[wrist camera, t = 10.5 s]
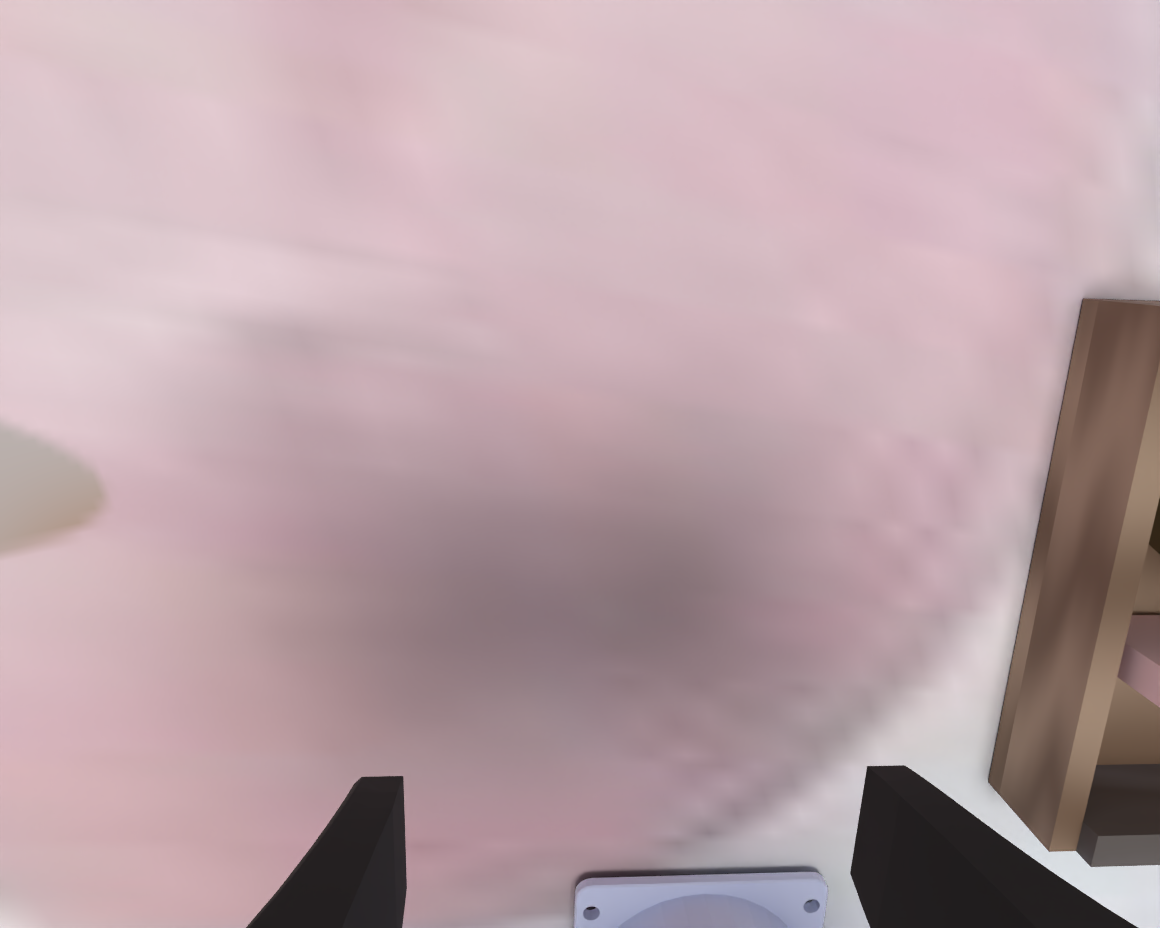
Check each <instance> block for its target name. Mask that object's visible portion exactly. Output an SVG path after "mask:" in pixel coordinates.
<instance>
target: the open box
mask: <svg viewBox="0 0 1160 928" xmlns="http://www.w3.org/2000/svg"><path fill="white" fill-rule="evenodd" d="M1159 498H1160V301H1145V300H1113V299H1083V303H1082V308H1081V313H1080V318H1079V323H1078V328H1077V333H1076V338H1075V343H1074V348H1073V354H1072V359H1071V364H1070V369H1069V374H1068V379H1067V384H1066V389H1065V394H1064V399H1063V404H1062V409H1061V415H1060V420H1059V425H1058V430H1057V435H1056V440H1055V445H1054V450H1053V455H1052V460H1051V465H1050V471H1049V476H1048V481H1047V486H1046V491H1045V496H1044V501H1043V506H1042V511H1041V516H1040V521H1039V526H1038V532H1037V537H1036V542H1035V547H1034V552H1033V557H1032V562H1031V567H1030V572H1029V577H1028V582H1027V587H1026V593H1025V598H1024V603H1023V608H1022V613H1021V618H1020V623H1019V628H1018V633H1017V638H1016V643H1015V648H1014V654H1013V659H1012V664H1011V669H1010V674H1009V679H1008V684H1007V689H1006V694H1005V699H1004V704H1003V710H1002V715H1001V720H1000V725H999V730H998V735H997V740H996V745H995V750H994V755H993V760H992V765H991V771H990V776H989V781H988V782H989V783H990V785H991V786H992V787H993V788H994V789H995V790H996V791H997V793H998V794H999V795H1000V796H1001V797H1002V798H1003V800H1004V801H1005V802H1006V803H1007V804H1008V805H1009V806H1010V808H1011V809H1012V810H1013V811H1014V812H1015V813H1016V814H1017V816H1018V817H1019V818H1020V819H1021V820H1022V821H1023V822H1024V824H1025V825H1026V826H1027V827H1028V828H1029V829H1030V830H1031V832H1032V833H1033V834H1034V835H1035V836H1036V837H1037V838H1038V840H1039V841H1040V842H1041V843H1042V844H1043V845H1044V846H1045V848H1046V849H1047V850H1048V851H1049V852H1051V851H1077V852H1078V854H1079V855H1080V856H1081V857H1082V858H1083V859H1084V860H1085V861H1086V862H1087V863H1088V864H1089V865H1090V867H1103V866H1137V865H1160V707H1158V706H1157V705H1155V704H1154V703H1153V702H1151V701H1150V700H1149V699H1147V698H1146V697H1144V696H1143V695H1142V694H1140V693H1139V692H1137V691H1136V690H1135V689H1133V688H1132V687H1131V686H1129V685H1128V684H1126V683H1125V682H1124V681H1122V680H1121V679H1119V678H1118V677H1117V675H1118V671H1119V667H1120V663H1121V659H1122V654H1123V650H1124V646H1125V642H1126V637H1127V633H1128V629H1129V625H1130V620H1131V616H1132V615H1160V554H1159V553H1158V552H1157V551H1156V550H1154V549H1153V548H1152V547H1151V546H1150V545H1149V540H1150V536H1151V532H1152V528H1153V523H1154V519H1155V515H1156V511H1157V506H1158V502H1159Z"/></svg>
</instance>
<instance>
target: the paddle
mask: <svg viewBox="0 0 1160 928" xmlns="http://www.w3.org/2000/svg"><path fill="white" fill-rule="evenodd" d="M1117 677H1118V678H1119V679H1121V680H1122V681H1124V682H1125V683H1126V684H1128V685H1129V686H1131V687H1132V688H1133V689H1135V690H1136V691H1137V692H1139V693H1140V694H1142V695H1143V696H1144V697H1146V698H1147V699H1149V700H1150V701H1151V702H1153V703H1154V704H1155V705H1157V706H1158V707H1160V615H1132V616H1131V620H1130V625H1129V629H1128V633H1127V637H1126V642H1125V646H1124V650H1123V654H1122V659H1121V663H1120V667H1119V671H1118V675H1117Z"/></svg>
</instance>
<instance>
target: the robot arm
mask: <svg viewBox="0 0 1160 928" xmlns="http://www.w3.org/2000/svg"><path fill="white" fill-rule="evenodd" d="M850 873H851V876H852V879H853V882H854V885H855V887H856V890H857V893H858V896H859V899H860V902H861V904H862V907H863V910H864V913H865V915H866V918H867V920H868V923H869V925H870V928H1138V927H1136V926H1134V925H1133V924H1131V923H1129V922H1128V921H1126V920H1125V919H1123V918H1121V917H1120V916H1118V915H1117V914H1115V913H1113V912H1112V911H1110V910H1109V909H1107V908H1105V907H1104V906H1102V905H1101V904H1099V903H1098V902H1096V901H1095V900H1093V899H1092V898H1090V897H1089V896H1087V895H1086V894H1084V893H1083V892H1081V891H1080V890H1078V889H1077V888H1075V887H1074V886H1072V885H1071V884H1069V883H1068V882H1066V881H1065V880H1063V879H1062V878H1060V877H1059V876H1057V875H1056V874H1054V873H1053V872H1051V871H1050V870H1049V869H1047V868H1046V867H1044V866H1043V865H1041V864H1040V863H1038V862H1037V861H1036V860H1034V859H1033V858H1031V857H1030V856H1029V855H1027V854H1026V853H1024V852H1023V851H1022V850H1020V849H1019V848H1017V847H1016V846H1015V845H1013V844H1012V843H1011V842H1009V841H1008V840H1006V839H1005V838H1004V837H1002V836H1001V835H1000V834H998V833H997V832H996V831H994V830H993V829H991V828H990V827H989V826H987V825H986V824H985V823H983V822H982V821H981V820H979V819H978V818H977V817H975V816H974V815H973V814H971V813H970V812H969V811H967V810H966V809H965V808H963V807H962V806H961V805H959V804H958V803H956V802H955V801H954V800H952V799H951V798H950V797H948V796H947V795H946V794H944V793H943V792H942V791H940V790H939V789H938V788H936V787H935V786H934V785H932V784H931V783H929V782H928V781H927V780H925V779H924V778H922V777H921V776H920V775H918V774H917V773H915V772H914V771H912V770H911V769H909V768H908V767H906V766H867V772H866V778H865V784H864V790H863V797H862V803H861V809H860V816H859V822H858V828H857V835H856V841H855V847H854V853H853V860H852V866H851V872H850ZM406 889H407V882H406V850H405V818H404V785H403V776H386V777H361V778H360V779H359V780H358V781H357V782H356V783H355V784H354V785H353V787H352V789H351V790H350V792H349V793H348V795H347V797H346V798H345V800H344V801H343V803H342V804H341V806H340V807H339V809H338V810H337V812H336V813H335V815H334V816H333V818H332V819H331V820H330V822H329V823H328V825H327V826H326V828H325V829H324V830H323V832H322V833H321V835H320V836H319V837H318V839H317V840H316V842H315V843H314V844H313V846H312V847H311V848H310V850H309V851H308V852H307V853H306V855H305V856H304V857H303V859H302V860H301V861H300V863H299V864H298V865H297V867H296V868H295V869H294V870H293V872H292V873H291V874H290V876H289V877H288V878H287V880H286V881H285V882H284V883H283V885H282V886H281V887H280V888H279V890H278V891H277V892H276V893H275V894H274V896H273V897H272V898H271V899H270V900H269V901H268V903H267V904H266V905H265V906H264V907H263V908H262V910H261V911H260V912H259V913H258V914H257V916H256V917H255V918H254V919H253V920H252V921H251V923H250V924H249V925H248V926H247V927H246V928H402V923H403V915H404V906H405V898H406ZM827 896H828V886H827V884H826V882H825V880H824V878H823V877H822V875H820V874H819V873H817V872H782V873H747V874H713V875H678V876H643V877H609V878H589V879H585V880H583V881H581V882H580V883H579V884H578V885H577V887H576V890H575V905H574V928H823V925H824V918H825V911H826V903H827ZM811 899H814V900H813V901H811V902H809V903H805V902H807V901H808V900H811ZM591 906H593V907H596V908H595V909H592V910H587V909H586V908H587V907H591Z"/></svg>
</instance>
